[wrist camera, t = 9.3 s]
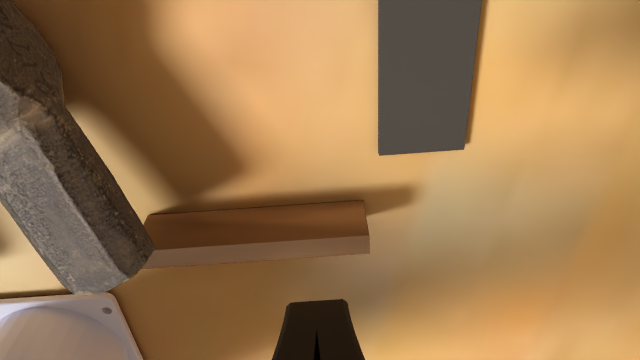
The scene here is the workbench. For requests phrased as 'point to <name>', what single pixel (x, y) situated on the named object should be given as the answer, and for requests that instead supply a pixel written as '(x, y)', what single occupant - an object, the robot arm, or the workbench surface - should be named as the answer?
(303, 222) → the brown wooden board
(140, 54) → the workbench surface
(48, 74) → the pipe
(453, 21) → the strip
